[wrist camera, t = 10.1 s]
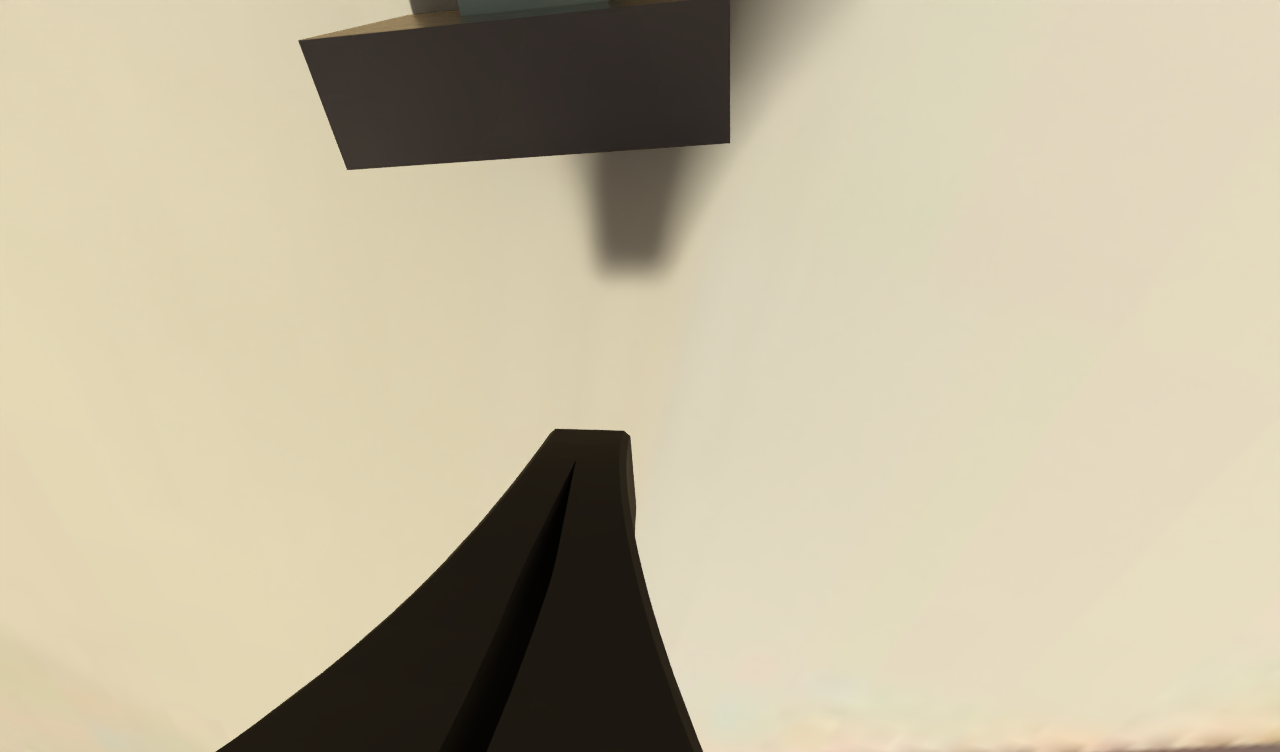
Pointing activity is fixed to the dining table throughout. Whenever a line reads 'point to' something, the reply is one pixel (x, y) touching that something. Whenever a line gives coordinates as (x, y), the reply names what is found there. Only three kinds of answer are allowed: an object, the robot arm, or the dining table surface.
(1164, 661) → the dining table surface
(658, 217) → the dining table surface
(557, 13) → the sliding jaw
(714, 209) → the dining table surface
